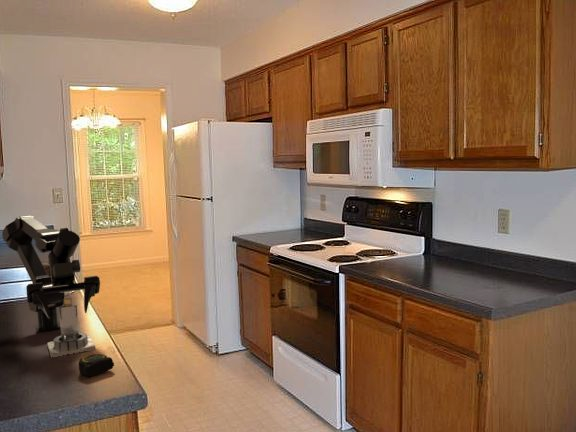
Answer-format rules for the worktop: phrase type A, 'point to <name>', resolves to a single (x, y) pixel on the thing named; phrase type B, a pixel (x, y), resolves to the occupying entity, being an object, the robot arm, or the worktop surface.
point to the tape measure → (95, 364)
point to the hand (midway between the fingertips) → (67, 315)
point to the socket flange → (70, 345)
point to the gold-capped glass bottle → (69, 321)
